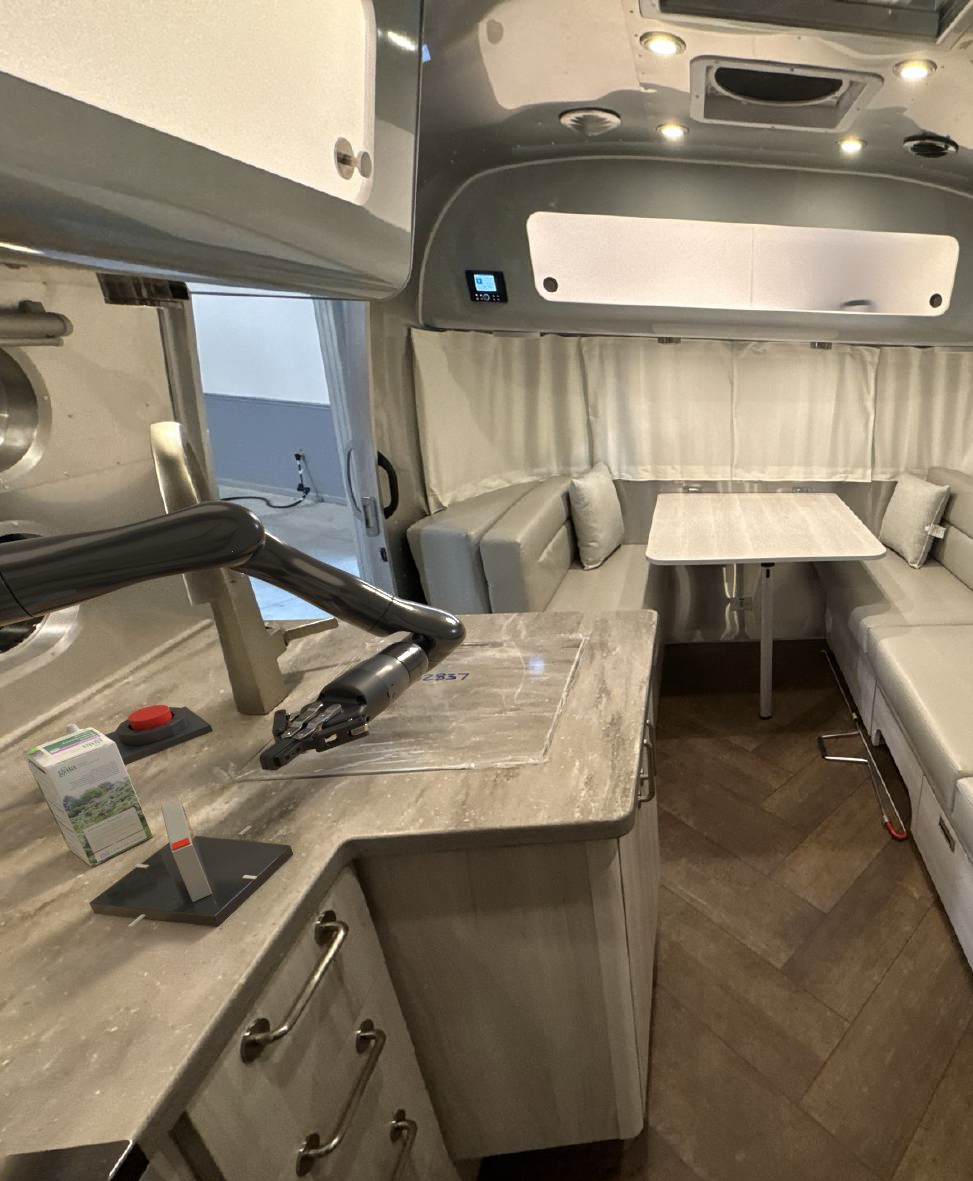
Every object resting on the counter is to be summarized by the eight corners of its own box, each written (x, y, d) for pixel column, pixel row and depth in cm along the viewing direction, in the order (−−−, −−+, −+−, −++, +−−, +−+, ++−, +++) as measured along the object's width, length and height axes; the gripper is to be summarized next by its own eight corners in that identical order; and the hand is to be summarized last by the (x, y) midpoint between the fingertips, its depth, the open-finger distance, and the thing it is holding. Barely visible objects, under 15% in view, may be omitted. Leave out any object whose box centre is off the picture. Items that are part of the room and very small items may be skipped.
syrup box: (132, 820, 79) (90, 723, 74) (156, 837, 77) (114, 738, 71) (69, 850, 74) (18, 749, 69) (92, 869, 72) (42, 766, 67)
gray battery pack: (179, 851, 73) (159, 801, 70) (198, 844, 74) (178, 795, 72) (192, 902, 67) (171, 850, 64) (212, 893, 68) (191, 842, 65)
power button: (138, 735, 91) (134, 724, 90) (126, 724, 93) (122, 714, 92) (177, 720, 94) (174, 710, 94) (165, 711, 96) (161, 701, 96)
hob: (70, 930, 65) (64, 918, 64) (199, 830, 78) (195, 820, 78) (200, 944, 64) (195, 933, 64) (308, 841, 78) (305, 831, 77)
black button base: (124, 765, 88) (117, 748, 87) (101, 743, 92) (93, 726, 91) (213, 731, 96) (207, 714, 95) (187, 712, 100) (181, 696, 99)
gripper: (317, 663, 90) (205, 733, 74) (406, 671, 90) (312, 743, 74) (328, 707, 93) (223, 784, 77) (414, 715, 93) (326, 794, 77)
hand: (266, 764), depth 76 cm, fingers closed
